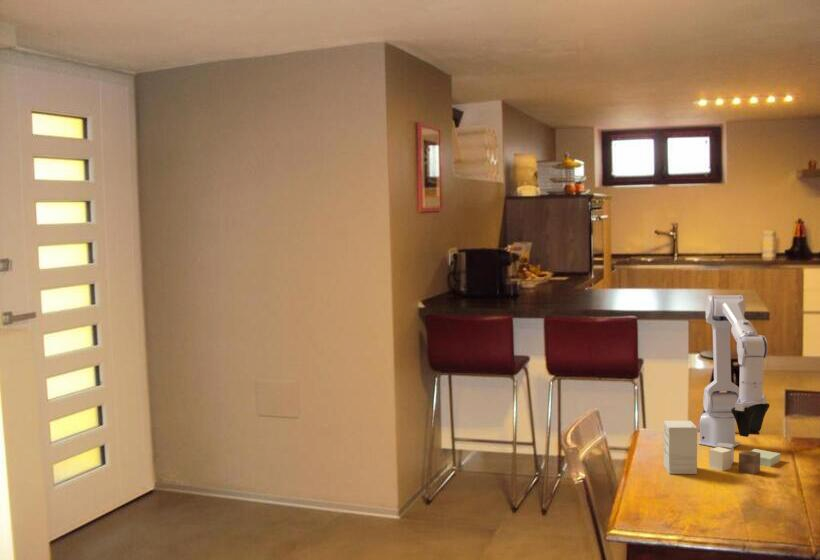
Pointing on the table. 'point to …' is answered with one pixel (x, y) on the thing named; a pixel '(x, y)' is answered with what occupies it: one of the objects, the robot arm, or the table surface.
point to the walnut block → (749, 462)
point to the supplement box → (680, 447)
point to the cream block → (720, 458)
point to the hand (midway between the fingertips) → (750, 433)
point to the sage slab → (768, 457)
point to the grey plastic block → (727, 446)
